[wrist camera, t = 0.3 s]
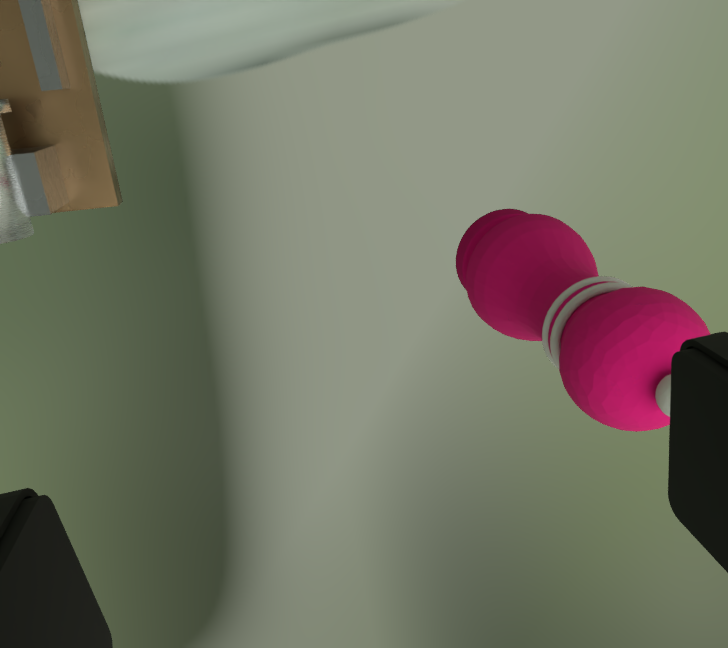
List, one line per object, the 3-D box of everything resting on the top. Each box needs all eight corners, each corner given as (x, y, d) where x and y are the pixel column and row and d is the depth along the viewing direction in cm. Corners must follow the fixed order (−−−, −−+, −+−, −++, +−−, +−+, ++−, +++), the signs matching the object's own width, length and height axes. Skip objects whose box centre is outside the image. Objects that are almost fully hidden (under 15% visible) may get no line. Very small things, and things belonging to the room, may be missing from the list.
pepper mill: (428, 286, 41) (563, 462, 23) (479, 181, 39) (674, 281, 21) (521, 324, 43) (715, 513, 25) (575, 226, 41) (830, 353, 23)
